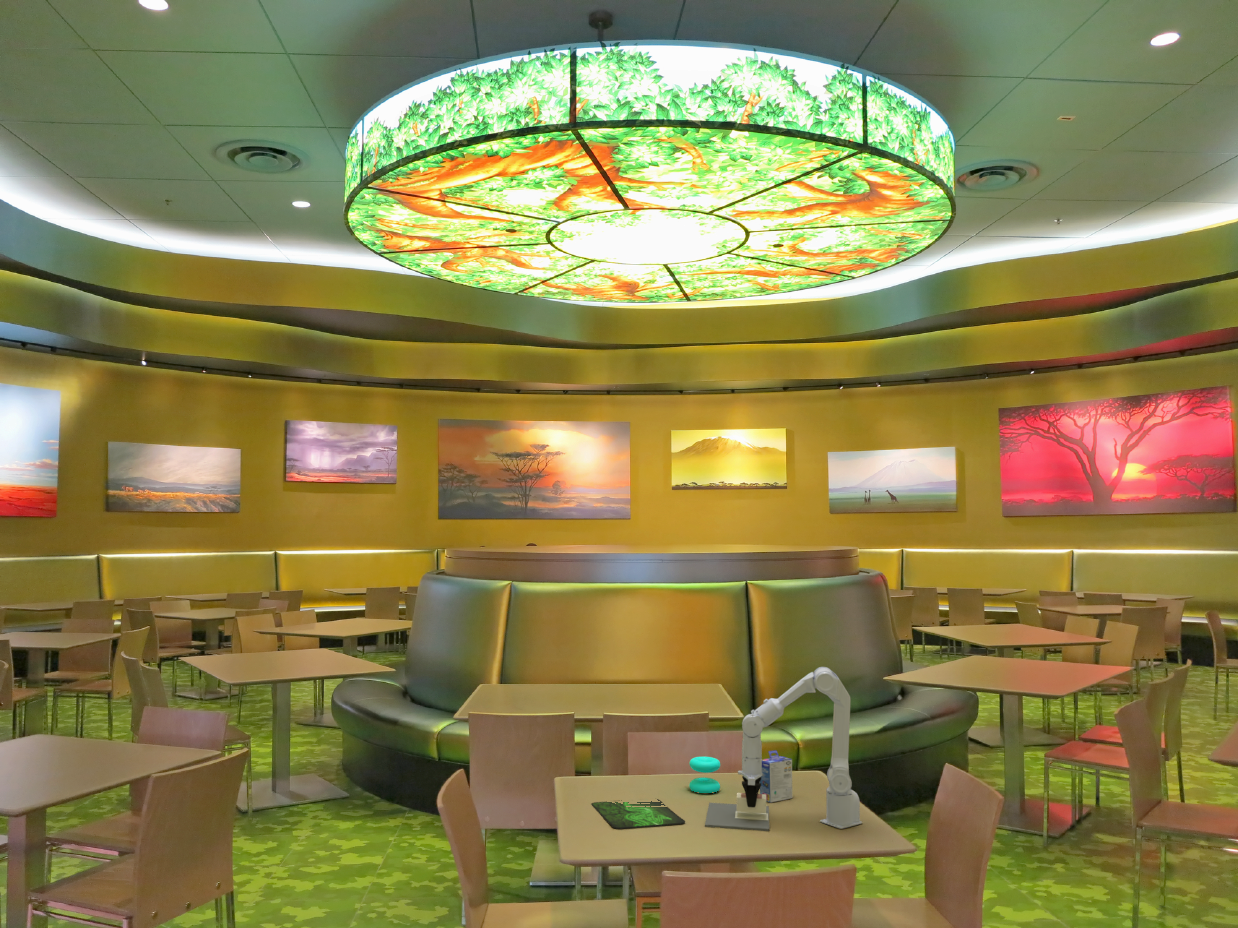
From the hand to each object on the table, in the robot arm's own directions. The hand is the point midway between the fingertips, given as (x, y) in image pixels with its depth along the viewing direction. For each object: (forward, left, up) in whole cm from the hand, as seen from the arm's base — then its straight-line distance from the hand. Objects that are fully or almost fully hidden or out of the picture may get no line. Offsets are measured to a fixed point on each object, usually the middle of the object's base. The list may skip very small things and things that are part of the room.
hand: (751, 803), depth 267 cm
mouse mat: (+25, -22, -5) cm, 34 cm away
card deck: (0, 0, -2) cm, 2 cm away
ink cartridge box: (-21, -10, -4) cm, 23 cm away
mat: (+3, -3, -4) cm, 6 cm away
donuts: (-8, -29, -4) cm, 31 cm away
